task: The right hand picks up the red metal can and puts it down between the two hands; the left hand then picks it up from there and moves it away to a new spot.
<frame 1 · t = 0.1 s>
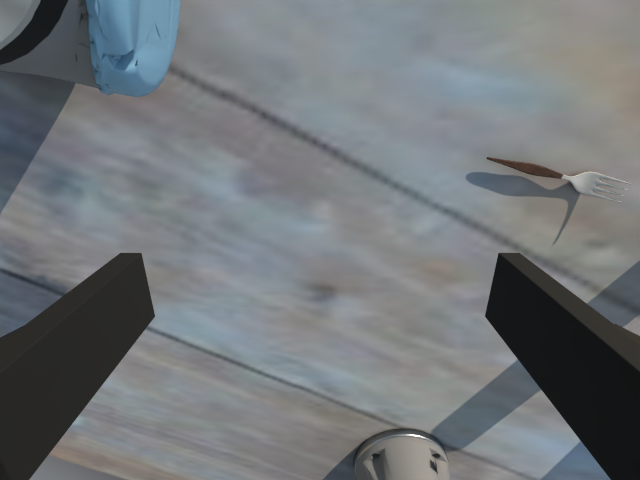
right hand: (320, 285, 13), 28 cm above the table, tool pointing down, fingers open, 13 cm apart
fork: (548, 173, 39), on the table
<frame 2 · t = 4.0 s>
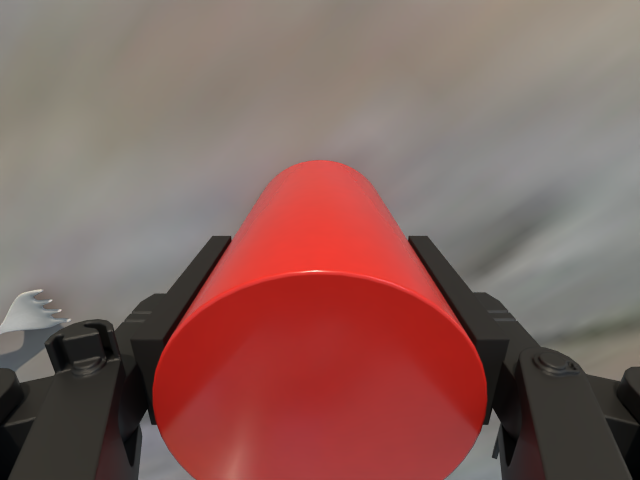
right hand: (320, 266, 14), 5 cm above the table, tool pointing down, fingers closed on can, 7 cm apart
can: (319, 225, 19), on the table, touching right hand
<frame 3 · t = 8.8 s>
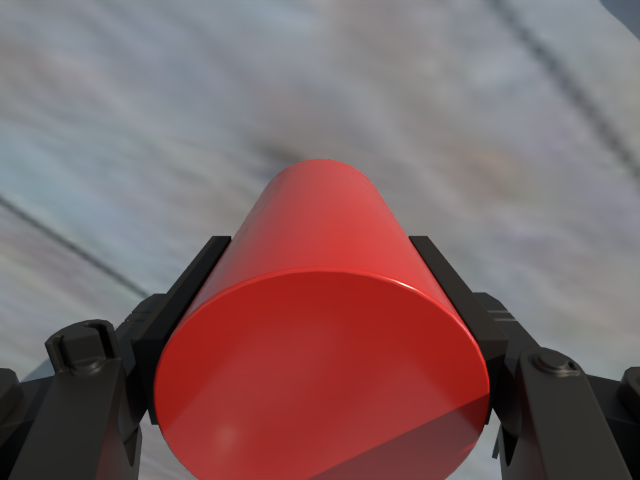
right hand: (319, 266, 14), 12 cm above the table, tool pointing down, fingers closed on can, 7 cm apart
can: (320, 224, 19), point 7 cm above the table, touching right hand
when the right hand's fingers open (6 cm above the table, at t = 13.9 s): can drops 1 cm, on the table.
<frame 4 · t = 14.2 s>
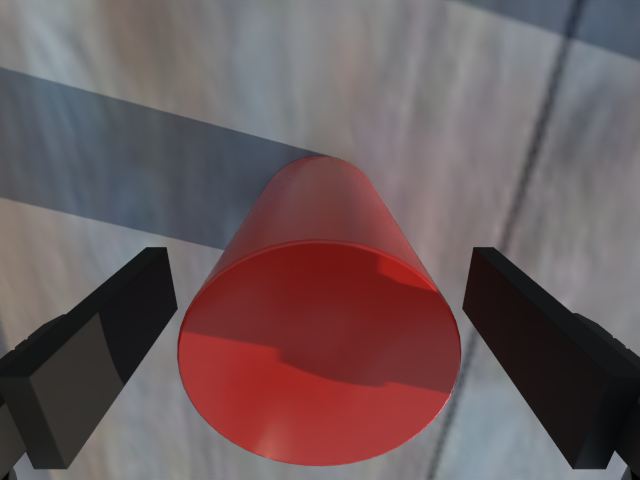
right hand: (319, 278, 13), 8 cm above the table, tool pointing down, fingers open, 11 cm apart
can: (319, 217, 20), on the table
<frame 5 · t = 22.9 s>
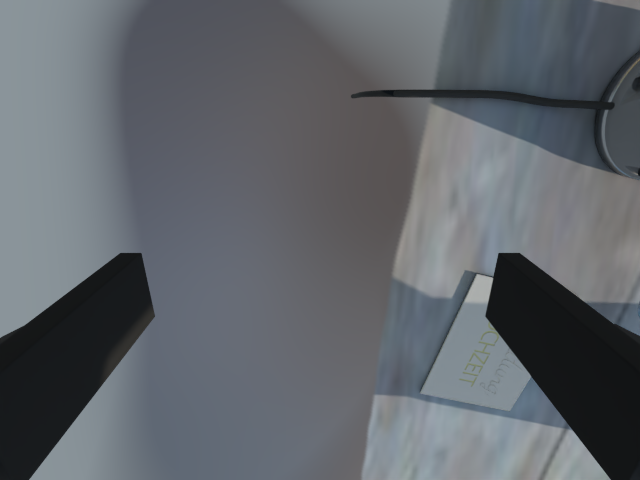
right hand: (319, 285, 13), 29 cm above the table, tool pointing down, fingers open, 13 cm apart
invitation card: (493, 347, 50), on the table
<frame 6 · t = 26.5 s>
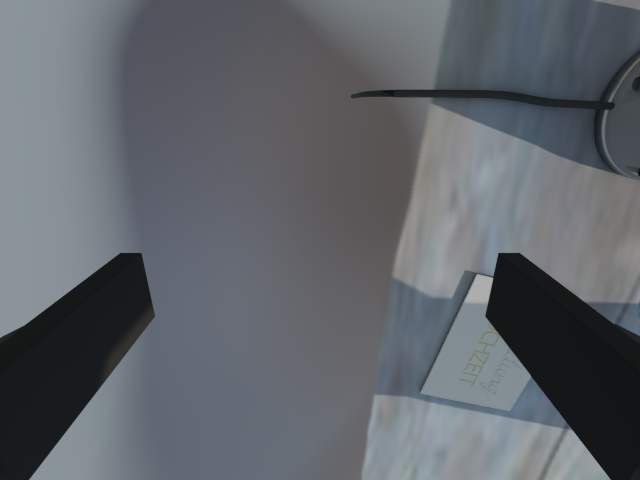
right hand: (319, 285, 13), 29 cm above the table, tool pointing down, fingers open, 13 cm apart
invitation card: (493, 347, 50), on the table
when the left hand's fingers open (6 cm above the table, at t = 30.4 s): can drops 1 cm, on the table.
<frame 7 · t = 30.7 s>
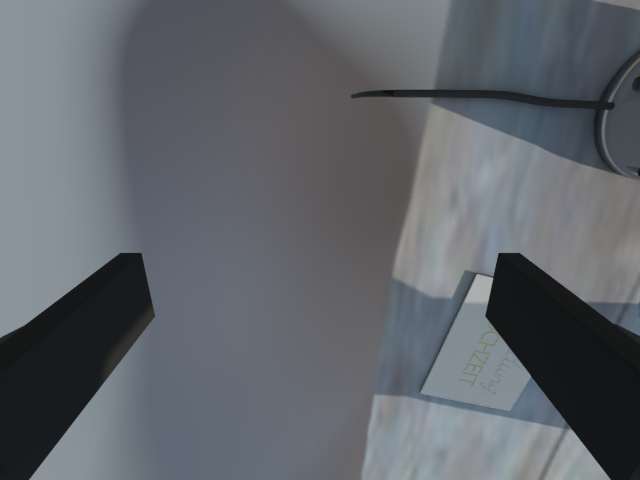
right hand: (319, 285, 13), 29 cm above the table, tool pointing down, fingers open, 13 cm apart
invitation card: (493, 347, 50), on the table
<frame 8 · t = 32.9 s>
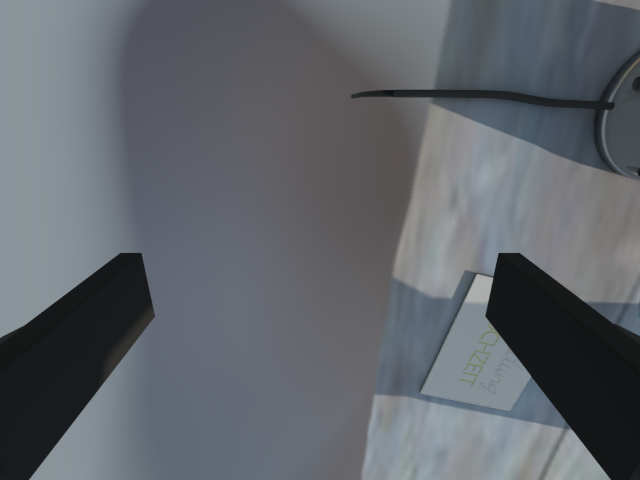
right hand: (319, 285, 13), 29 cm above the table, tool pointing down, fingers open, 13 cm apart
invitation card: (493, 347, 50), on the table
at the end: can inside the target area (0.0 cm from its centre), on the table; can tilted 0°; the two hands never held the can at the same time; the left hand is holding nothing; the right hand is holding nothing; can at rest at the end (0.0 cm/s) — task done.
